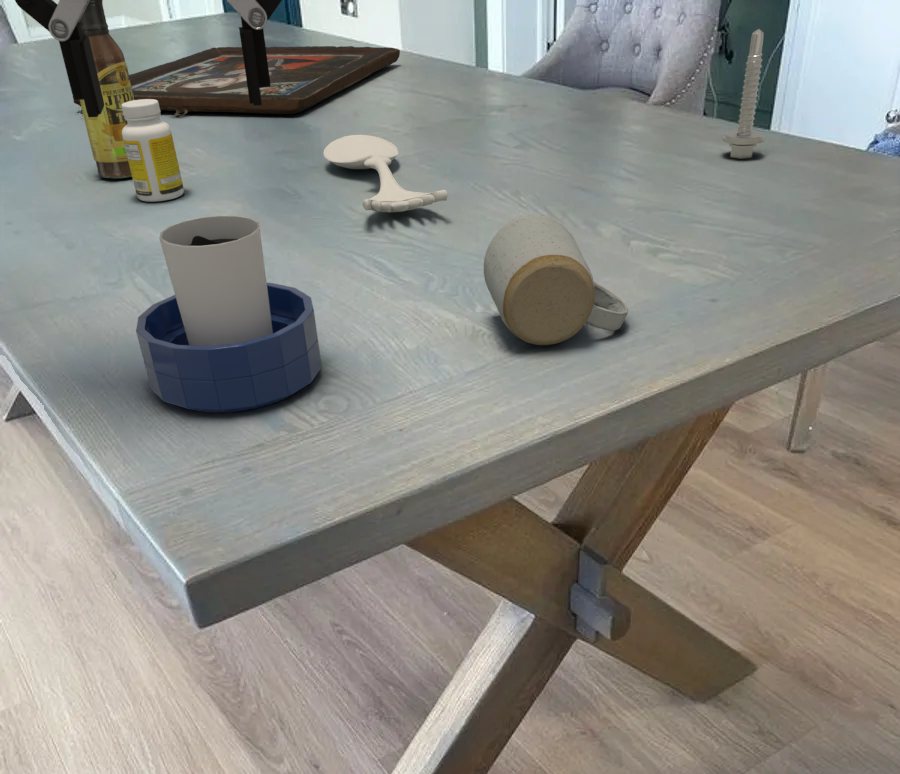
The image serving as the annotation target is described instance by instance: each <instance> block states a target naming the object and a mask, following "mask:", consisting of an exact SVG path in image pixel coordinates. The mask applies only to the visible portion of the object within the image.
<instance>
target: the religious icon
mask: <svg viewBox="0 0 900 774" xmlns="http://www.w3.org/2000/svg"><path fill="white" fill-rule="evenodd" d="M266 54H267V61H268V69H269V77H270V85H271V87H262V88H260V95H261V102H262V105H260V106H254V105H253V104H250V100H249V94H248V87H247V80H246V73H245V66H244V59H243V52H242V46H219V47H210V48H208V49H205V50H202V51H199V52H195V53H193V54H190V55H187V56H185V57H182V58H179V59H176V60H173V61H169V62H165V63H163V64H159V65H157V66H153V67H150V68H149V67H148V68H146V69H143V70H141V71H138V72H135V73H132V74H129V78H130V83H131V88H132V92H133V97H134V100H141V99H154V100H157V101H158V103H159V107H160V111H171V112H172V111H173V112H175V113H174V115H175V116H181V115H186V114H187V113H191V112H205V113H206V112H208V113H210V112H211V113H245V114H265V115H266V114H267V115H297V114H299V113H301V112H303V111H305V110H307V109H309V108H312V107H314V106H315V105H316V104H319V103H321V102H322V101H324V100H326V99H328V98H330V97H331V96H334V95H335V94H338V93H339V92H341V91H343V90H345V89H347V88H349V87H351V86H352V85H354V84H356V83H358V82H359V81H361V80H363V79H365V78H366V77H367V78H368V77H369V76H371V75H372V74H374V73H375V72H378V71H380V70H382V69H384V68H386V67H388V66H391V65H393V64H394V63H397V62H398V60H399V58H400V55H401V50H400V49H399V48H395V47H385V46H384V47H372V46H352V45H349V46H348V45H347V46H342V45H341V46H333V45H323V46H322V45H310V46H309V45H307V46H266ZM72 99H73V103H74V104H75V105H78V106H79V107H80V108H81V103H80V100H74V98H73V97H72Z"/></svg>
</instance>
